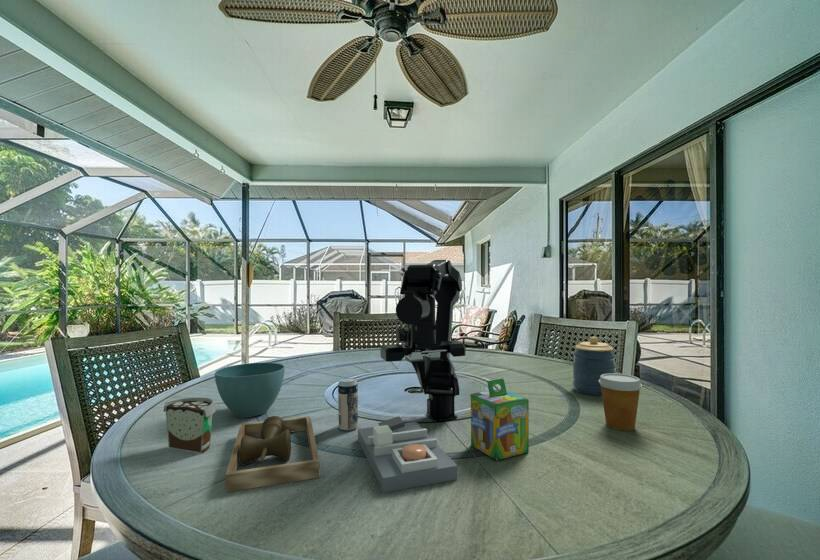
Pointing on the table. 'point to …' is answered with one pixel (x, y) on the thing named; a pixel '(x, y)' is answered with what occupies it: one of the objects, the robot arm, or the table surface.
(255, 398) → the teal bowl
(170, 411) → the food container
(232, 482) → the tray
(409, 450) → the push button
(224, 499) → the table surface
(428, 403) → the robot arm
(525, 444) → the chalk box
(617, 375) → the disposable coffee cup
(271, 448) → the kendama
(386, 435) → the slider knob
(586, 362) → the canister
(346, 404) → the beer can
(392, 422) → the rocker switch
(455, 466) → the panel
